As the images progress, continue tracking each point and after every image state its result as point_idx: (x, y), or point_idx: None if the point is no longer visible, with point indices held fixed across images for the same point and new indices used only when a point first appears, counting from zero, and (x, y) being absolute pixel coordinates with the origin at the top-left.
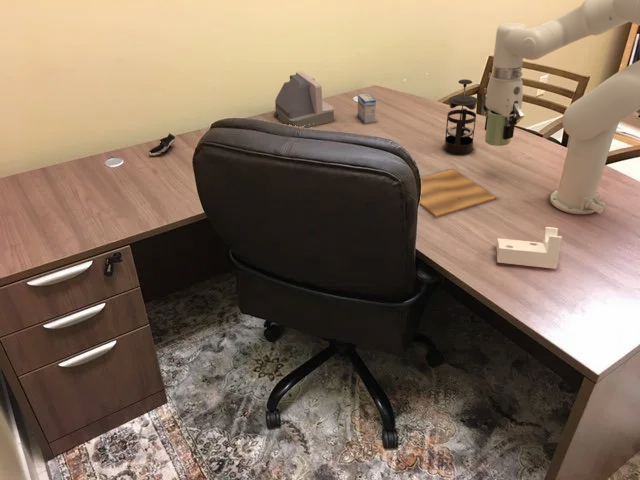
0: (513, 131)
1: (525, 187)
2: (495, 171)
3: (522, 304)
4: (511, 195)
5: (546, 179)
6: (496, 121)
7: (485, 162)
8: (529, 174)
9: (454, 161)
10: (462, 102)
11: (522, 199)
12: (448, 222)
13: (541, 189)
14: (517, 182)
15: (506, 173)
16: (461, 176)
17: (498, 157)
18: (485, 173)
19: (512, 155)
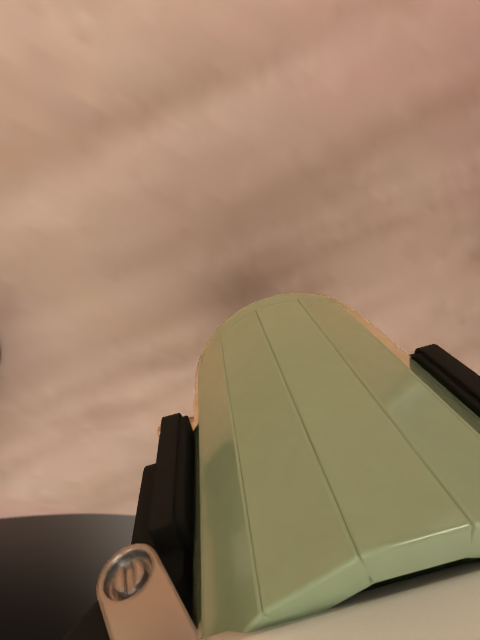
0: (471, 373)
1: (390, 196)
2: (209, 260)
3: None
4: (420, 286)
5: (365, 37)
6: None
7: (102, 267)
8: (286, 102)
9: (69, 397)
10: None
11: (464, 259)
12: None
13: (435, 130)
14: (338, 209)
15: (242, 217)
16: None
17: (48, 170)
18: (216, 311)
19: (28, 65)
